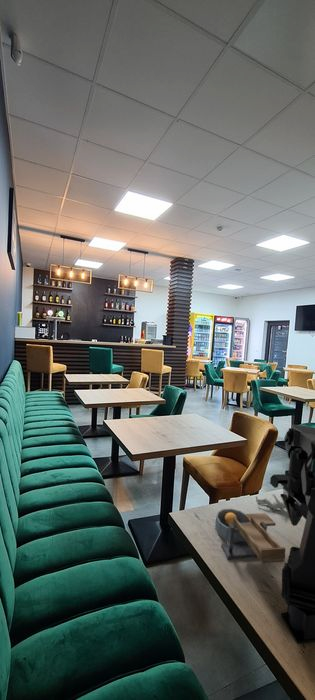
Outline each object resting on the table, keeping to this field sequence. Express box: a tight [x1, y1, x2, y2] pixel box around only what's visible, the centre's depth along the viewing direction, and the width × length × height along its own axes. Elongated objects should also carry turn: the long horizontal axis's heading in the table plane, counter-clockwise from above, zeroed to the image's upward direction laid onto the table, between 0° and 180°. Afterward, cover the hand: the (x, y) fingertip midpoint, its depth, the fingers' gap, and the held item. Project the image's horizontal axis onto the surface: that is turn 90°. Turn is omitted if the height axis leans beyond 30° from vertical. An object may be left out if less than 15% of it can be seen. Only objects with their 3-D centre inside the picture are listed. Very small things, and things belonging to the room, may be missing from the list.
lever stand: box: [220, 522, 268, 560], centre depth 90 cm, size 5×13×8 cm, turn 100°
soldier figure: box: [255, 494, 286, 510], centre depth 113 cm, size 8×5×12 cm
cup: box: [214, 508, 248, 543], centre depth 99 cm, size 11×11×4 cm
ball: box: [225, 512, 237, 526], centre depth 101 cm, size 4×4×4 cm
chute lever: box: [233, 512, 286, 564], centre depth 87 cm, size 22×14×3 cm, turn 10°
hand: (294, 524), depth 85 cm, fingers closed
